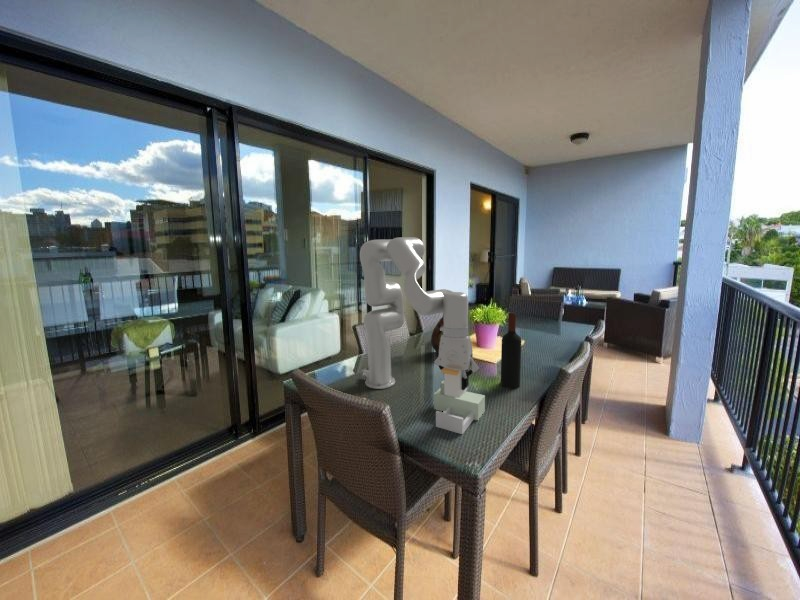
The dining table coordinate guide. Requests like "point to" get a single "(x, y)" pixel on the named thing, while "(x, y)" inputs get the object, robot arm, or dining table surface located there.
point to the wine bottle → (511, 356)
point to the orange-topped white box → (453, 382)
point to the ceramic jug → (437, 335)
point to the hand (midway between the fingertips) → (456, 386)
